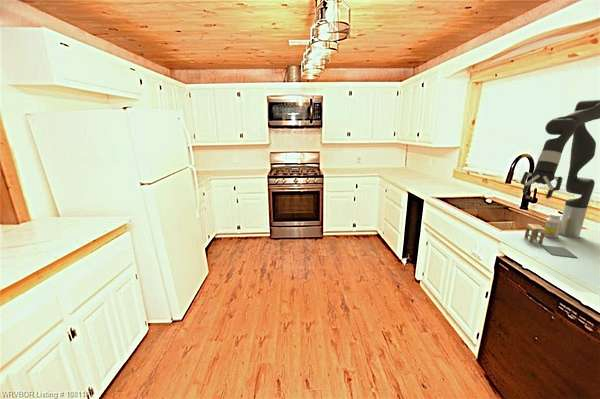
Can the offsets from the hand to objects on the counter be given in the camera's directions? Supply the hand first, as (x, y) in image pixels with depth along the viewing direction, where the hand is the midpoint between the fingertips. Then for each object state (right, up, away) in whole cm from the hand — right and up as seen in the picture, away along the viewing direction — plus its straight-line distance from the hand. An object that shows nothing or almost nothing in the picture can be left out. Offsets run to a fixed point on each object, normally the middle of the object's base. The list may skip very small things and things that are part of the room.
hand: (535, 196), depth 134 cm
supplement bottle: (+34, -23, +31) cm, 51 cm away
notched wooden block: (+19, -24, +25) cm, 39 cm away
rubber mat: (+20, -28, +11) cm, 36 cm away
